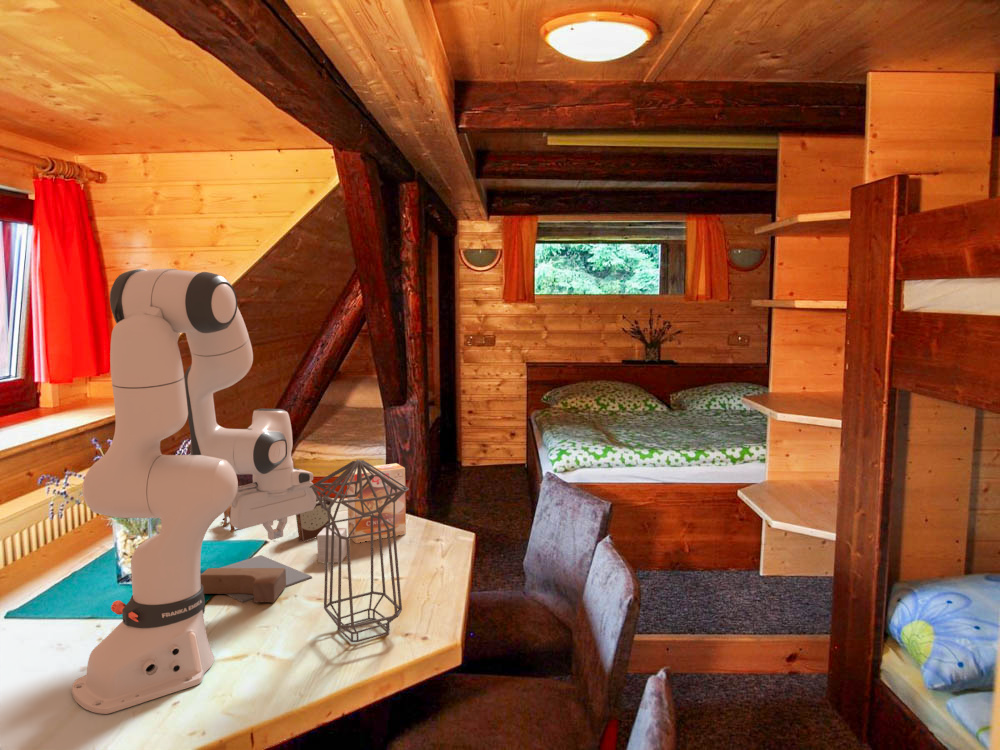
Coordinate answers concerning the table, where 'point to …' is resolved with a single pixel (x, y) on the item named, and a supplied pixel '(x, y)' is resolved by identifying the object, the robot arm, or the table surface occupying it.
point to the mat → (264, 562)
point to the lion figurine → (226, 514)
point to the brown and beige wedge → (312, 521)
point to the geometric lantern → (348, 472)
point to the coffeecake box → (400, 508)
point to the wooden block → (245, 582)
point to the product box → (322, 545)
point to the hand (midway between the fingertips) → (275, 537)
